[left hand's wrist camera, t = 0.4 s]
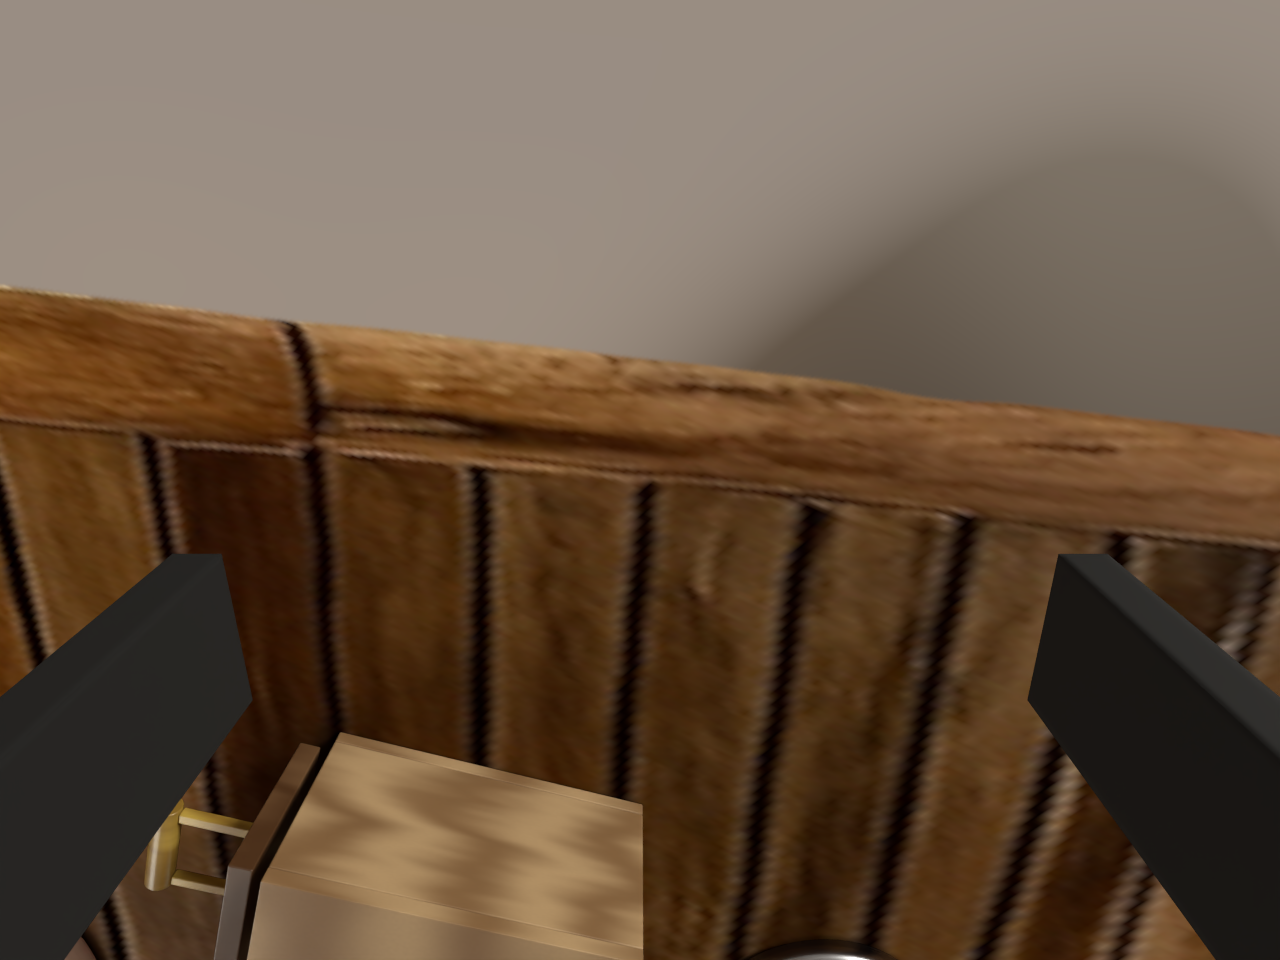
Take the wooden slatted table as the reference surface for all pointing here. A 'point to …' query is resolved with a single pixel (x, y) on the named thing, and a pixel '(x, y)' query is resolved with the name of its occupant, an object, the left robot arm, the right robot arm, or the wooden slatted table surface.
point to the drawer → (247, 860)
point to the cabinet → (450, 866)
